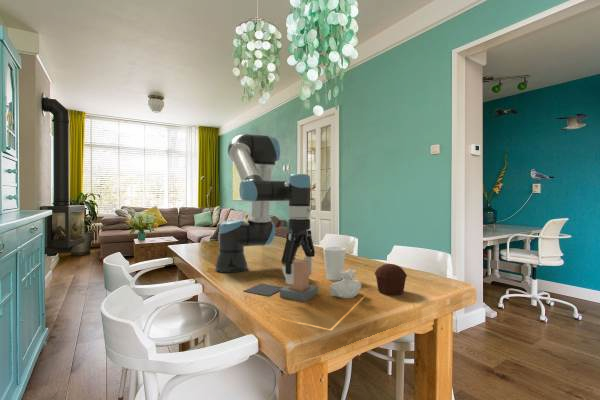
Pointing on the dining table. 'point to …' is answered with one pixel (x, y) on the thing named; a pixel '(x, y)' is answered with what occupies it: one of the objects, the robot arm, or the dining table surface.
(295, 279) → the block
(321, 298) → the dining table surface
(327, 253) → the foam cup
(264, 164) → the robot arm
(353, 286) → the bust
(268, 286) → the mat
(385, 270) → the muffin
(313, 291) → the holder
